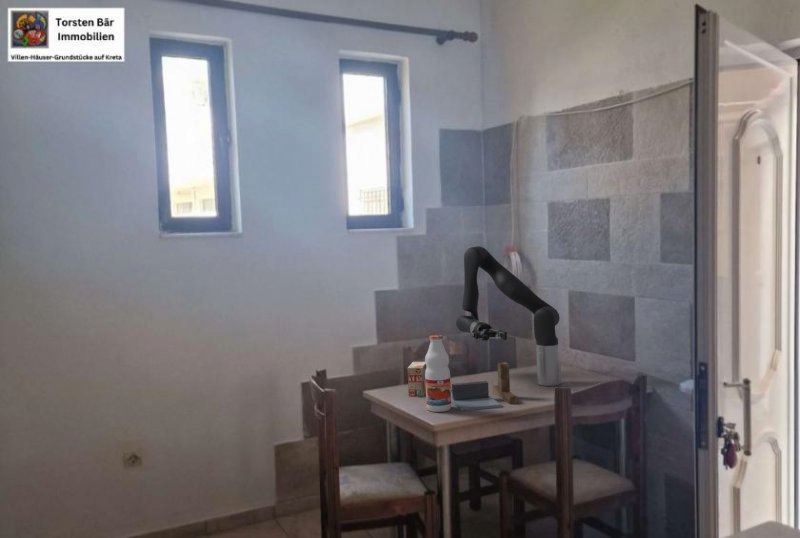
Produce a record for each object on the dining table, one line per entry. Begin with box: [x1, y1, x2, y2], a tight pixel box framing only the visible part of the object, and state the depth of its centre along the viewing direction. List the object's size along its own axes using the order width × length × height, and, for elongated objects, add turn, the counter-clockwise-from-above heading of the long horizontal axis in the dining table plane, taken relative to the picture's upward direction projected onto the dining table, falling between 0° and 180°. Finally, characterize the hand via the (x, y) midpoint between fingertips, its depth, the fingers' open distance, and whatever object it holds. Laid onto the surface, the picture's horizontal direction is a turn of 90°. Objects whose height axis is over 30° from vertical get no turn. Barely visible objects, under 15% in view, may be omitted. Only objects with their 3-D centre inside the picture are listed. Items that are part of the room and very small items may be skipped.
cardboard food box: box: [407, 361, 427, 397], centre depth 267 cm, size 21×6×12 cm, turn 168°
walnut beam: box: [491, 361, 518, 405], centre depth 248 cm, size 4×20×14 cm, turn 11°
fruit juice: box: [424, 334, 452, 413], centre depth 235 cm, size 9×9×28 cm
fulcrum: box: [451, 380, 502, 412], centre depth 246 cm, size 16×26×7 cm, turn 11°
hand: (496, 338), depth 258 cm, fingers open, 8 cm apart
